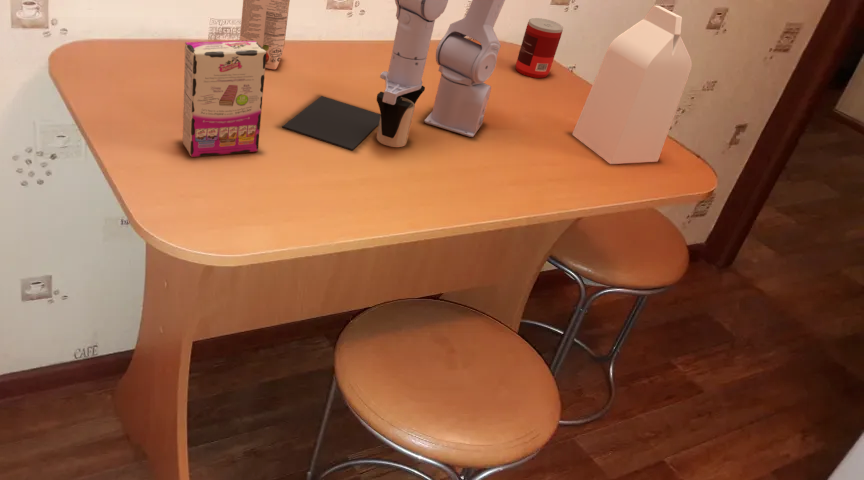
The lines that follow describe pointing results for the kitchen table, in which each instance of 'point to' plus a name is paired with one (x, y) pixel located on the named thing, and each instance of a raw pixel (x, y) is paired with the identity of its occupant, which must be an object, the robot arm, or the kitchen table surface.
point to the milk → (636, 91)
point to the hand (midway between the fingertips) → (393, 130)
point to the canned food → (538, 47)
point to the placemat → (334, 122)
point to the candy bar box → (222, 97)
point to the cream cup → (402, 131)
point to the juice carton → (266, 27)
